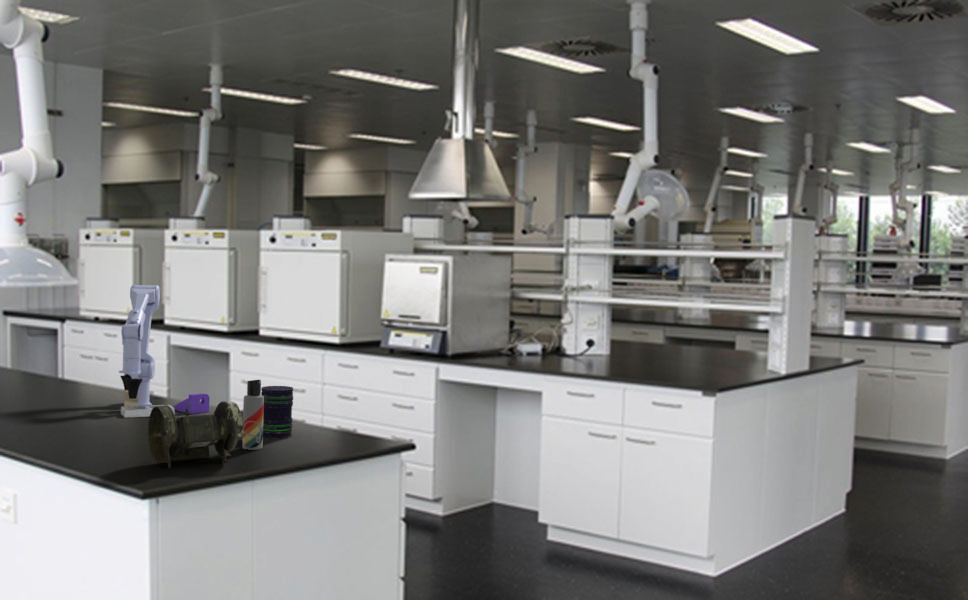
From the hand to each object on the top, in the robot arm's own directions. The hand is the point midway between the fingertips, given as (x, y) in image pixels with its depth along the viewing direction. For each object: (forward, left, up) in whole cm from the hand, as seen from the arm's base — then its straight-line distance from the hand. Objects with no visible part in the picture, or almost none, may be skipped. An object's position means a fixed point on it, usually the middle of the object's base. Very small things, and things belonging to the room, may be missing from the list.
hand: (130, 397), depth 327 cm
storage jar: (+59, +33, -5) cm, 68 cm away
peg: (0, 0, -5) cm, 5 cm away
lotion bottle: (+75, +21, -5) cm, 78 cm away
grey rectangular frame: (+9, +4, -5) cm, 11 cm away
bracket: (+5, +20, -5) cm, 21 cm away
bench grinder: (+88, +1, -5) cm, 89 cm away
